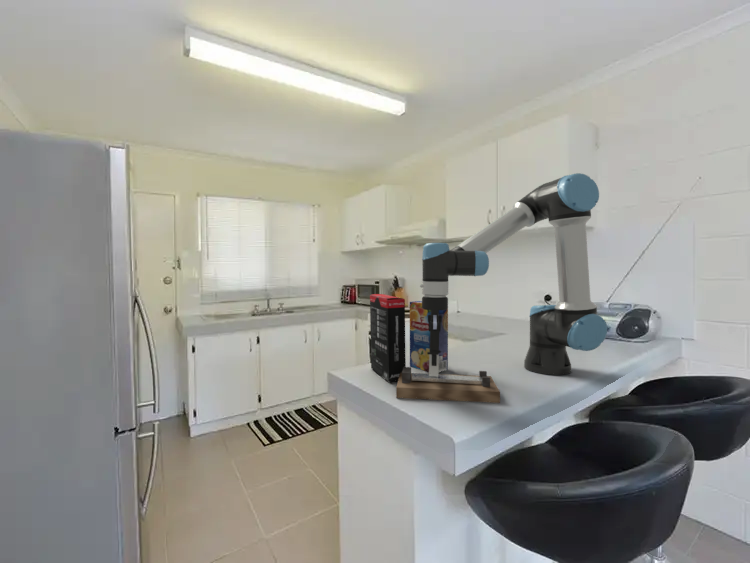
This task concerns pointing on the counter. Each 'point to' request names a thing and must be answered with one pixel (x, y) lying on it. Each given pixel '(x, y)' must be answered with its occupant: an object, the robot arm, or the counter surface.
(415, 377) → the latch bar
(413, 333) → the juice carton
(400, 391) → the plate
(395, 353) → the graphics card box
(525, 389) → the counter surface
